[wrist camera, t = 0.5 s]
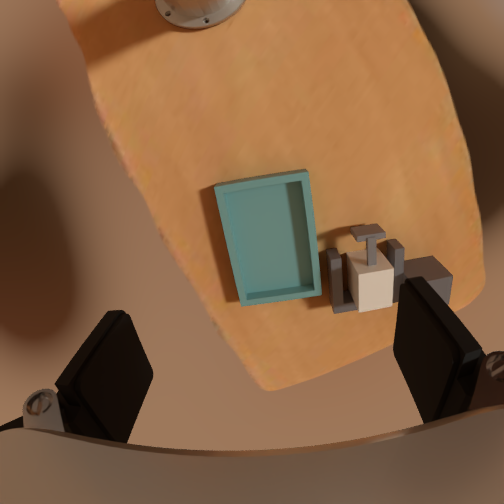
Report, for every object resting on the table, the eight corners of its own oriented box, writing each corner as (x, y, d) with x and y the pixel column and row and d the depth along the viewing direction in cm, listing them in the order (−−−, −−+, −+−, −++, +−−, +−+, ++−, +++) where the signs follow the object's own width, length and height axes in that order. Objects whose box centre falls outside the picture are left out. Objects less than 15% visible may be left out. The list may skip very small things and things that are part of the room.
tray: (216, 183, 41) (214, 187, 39) (305, 168, 40) (308, 171, 37) (242, 297, 48) (241, 306, 46) (319, 286, 47) (321, 295, 44)
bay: (326, 249, 44) (335, 271, 38) (433, 232, 42) (456, 250, 36) (329, 301, 48) (338, 327, 41) (430, 282, 46) (448, 304, 39)
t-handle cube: (344, 224, 43) (357, 242, 36) (376, 219, 42) (394, 237, 36) (347, 287, 47) (358, 312, 40) (377, 282, 46) (392, 306, 40)
